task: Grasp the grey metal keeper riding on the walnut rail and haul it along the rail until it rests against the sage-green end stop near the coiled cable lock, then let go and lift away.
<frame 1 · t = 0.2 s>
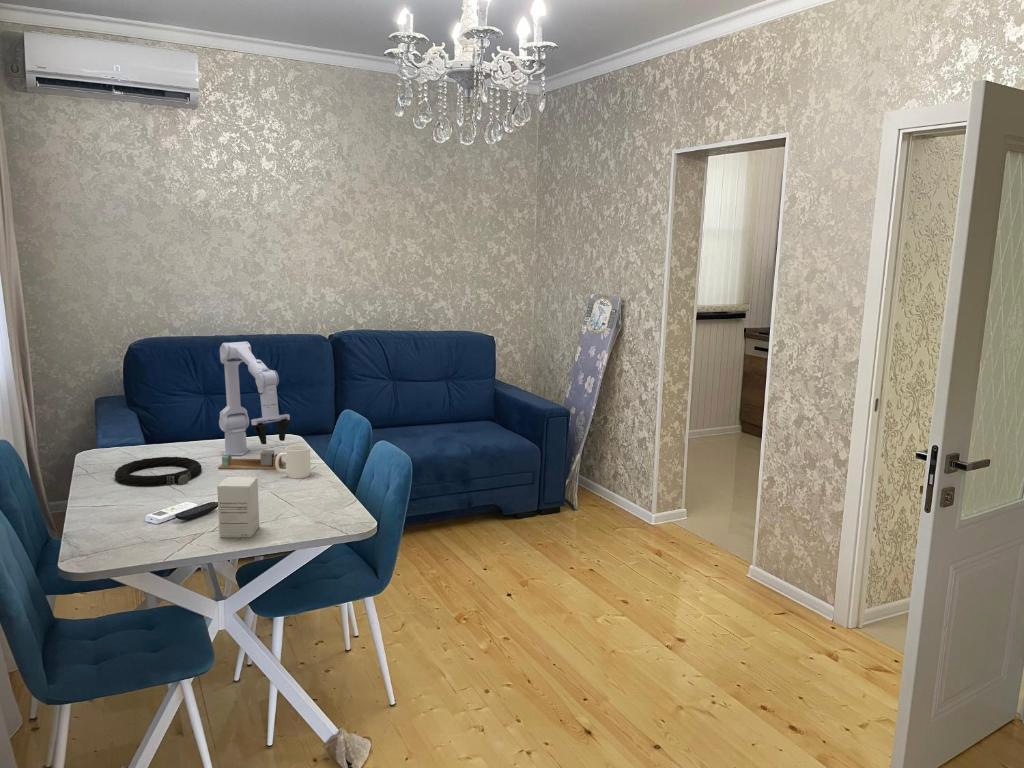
hand: (273, 442, 269), 10 cm above the table, tool pointing down, fingers open, 7 cm apart
cup: (293, 476, 265), on the table
rail: (252, 466, 275), on the table
keeper: (267, 457, 275), point 3 cm above the table, slide at 5.5 cm
supplement box: (239, 532, 212), on the table
cable lock: (161, 477, 261), on the table
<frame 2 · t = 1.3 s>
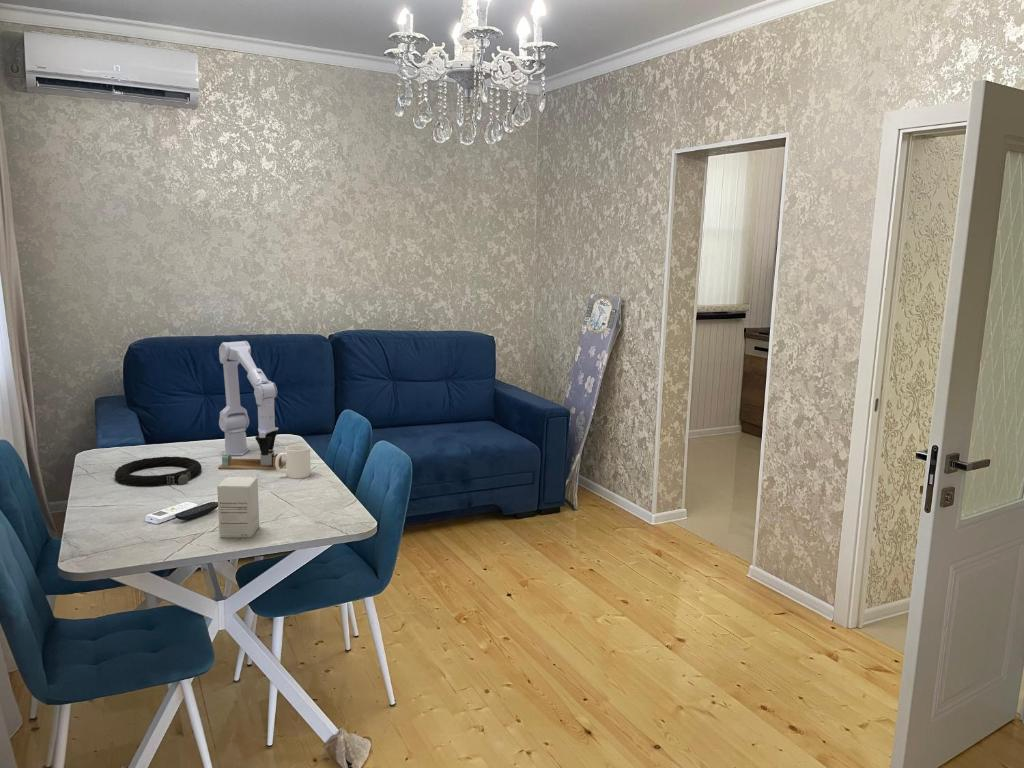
hand: (267, 452, 275), 5 cm above the table, tool pointing down, fingers open, 7 cm apart
nothing on the table moved.
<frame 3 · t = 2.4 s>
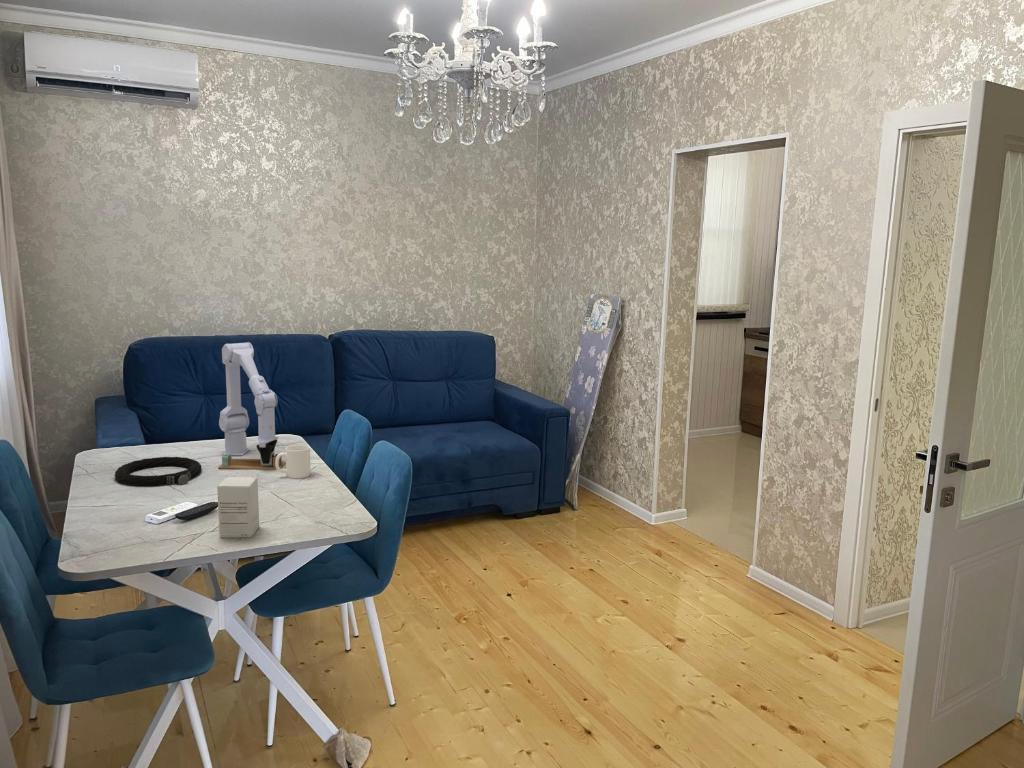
hand: (267, 461, 275), 2 cm above the table, tool pointing down, fingers closed on keeper, 4 cm apart
keeper: (267, 457, 275), point 3 cm above the table, slide at 5.5 cm, touching gripper
everything else where it was.
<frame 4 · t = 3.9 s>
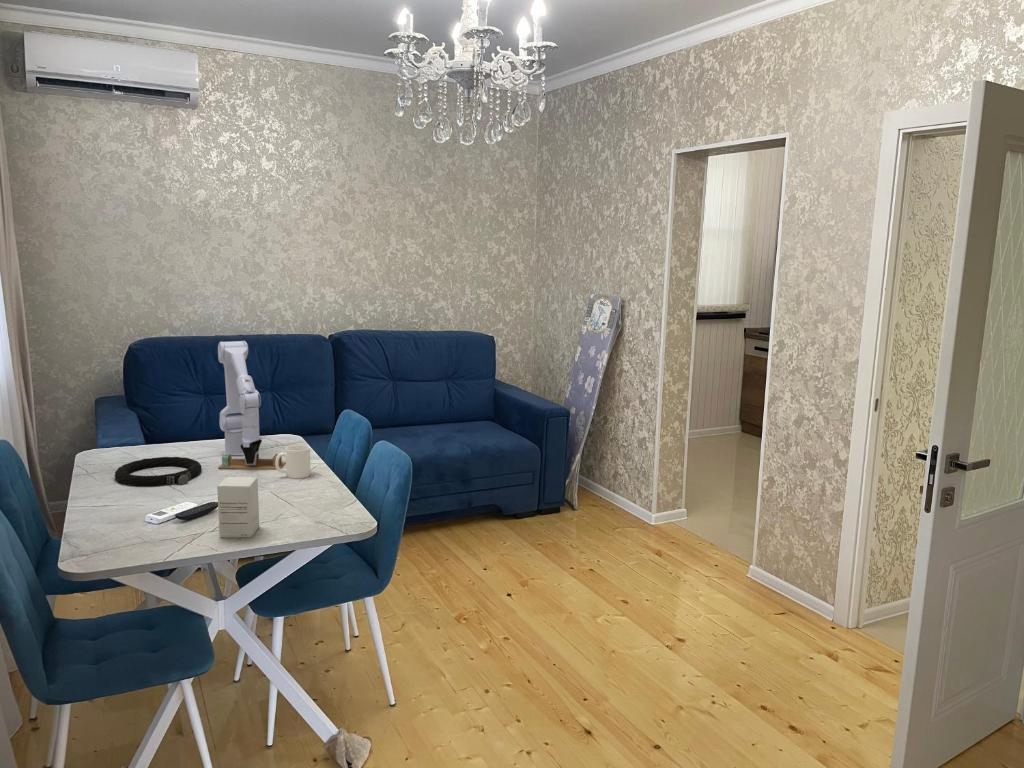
hand: (251, 461, 275), 2 cm above the table, tool pointing down, fingers closed on keeper, 4 cm apart
keeper: (251, 457, 275), point 3 cm above the table, slide at -0.1 cm, touching gripper
everything else where it was.
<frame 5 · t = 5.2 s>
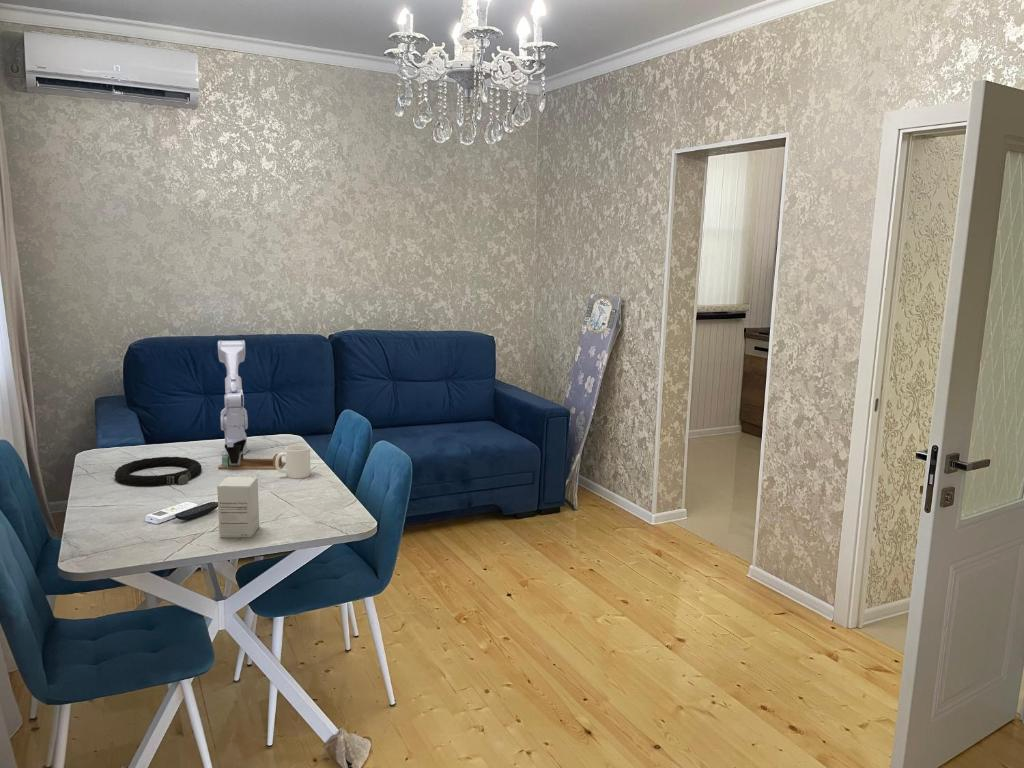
hand: (236, 461, 274), 2 cm above the table, tool pointing down, fingers closed on keeper, 4 cm apart
keeper: (236, 457, 274), point 3 cm above the table, slide at -5.6 cm, touching gripper
everything else where it was.
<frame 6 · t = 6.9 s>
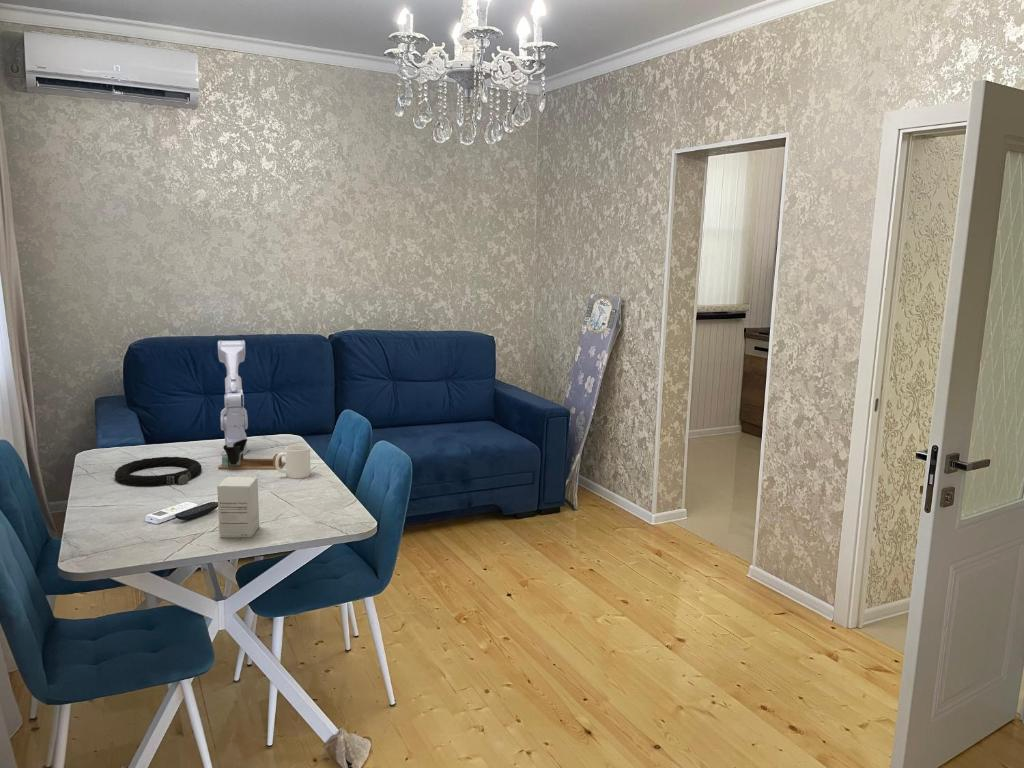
hand: (236, 461, 274), 2 cm above the table, tool pointing down, fingers open, 7 cm apart
keeper: (236, 457, 274), point 3 cm above the table, slide at -5.6 cm
everything else where it was.
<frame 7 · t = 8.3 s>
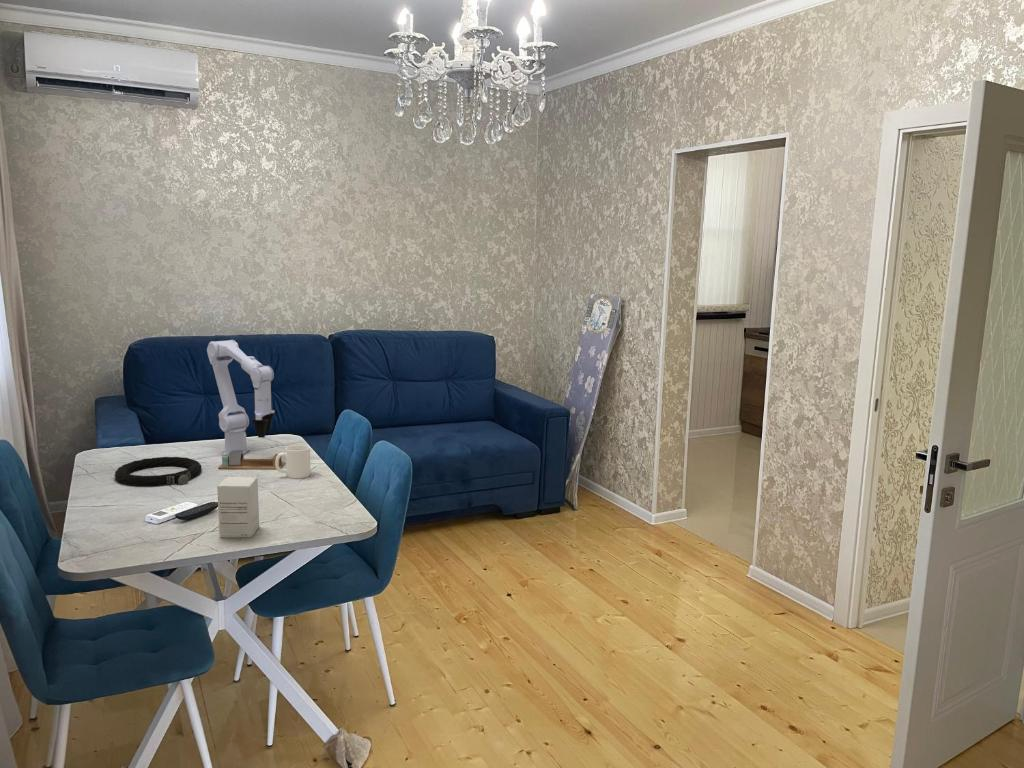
hand: (263, 434, 280), 10 cm above the table, tool pointing down, fingers open, 7 cm apart
nothing on the table moved.
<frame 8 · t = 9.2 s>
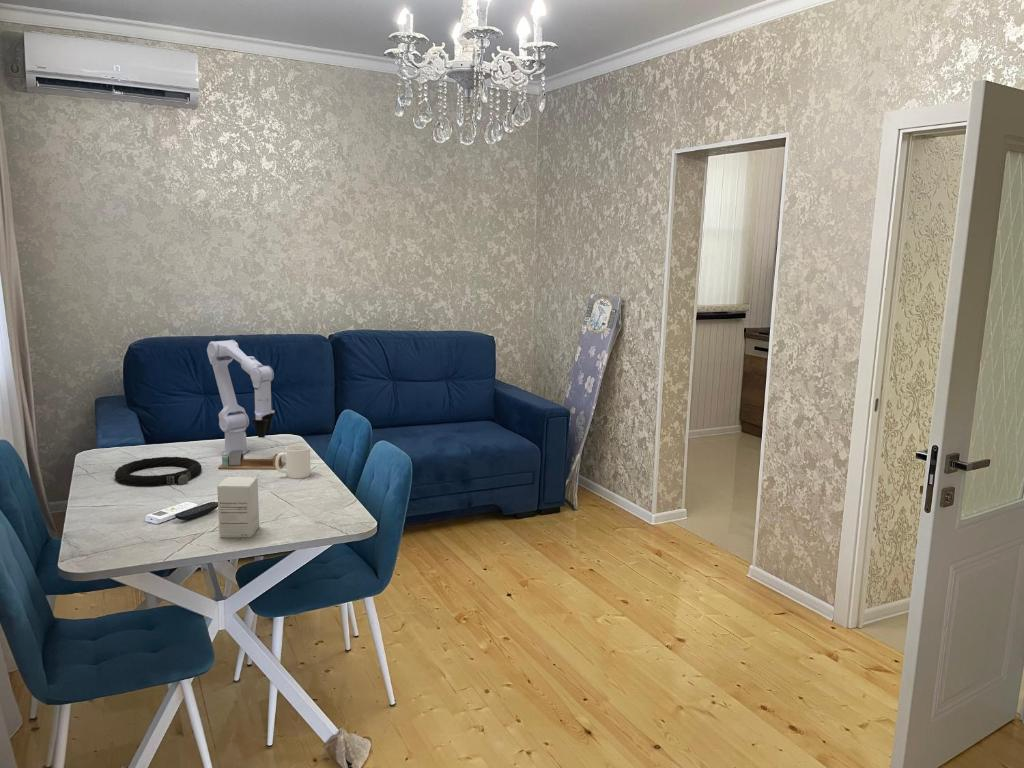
hand: (263, 434, 280), 10 cm above the table, tool pointing down, fingers open, 7 cm apart
nothing on the table moved.
at the end: keeper slide at -5.6 cm; the gripper is holding nothing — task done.
